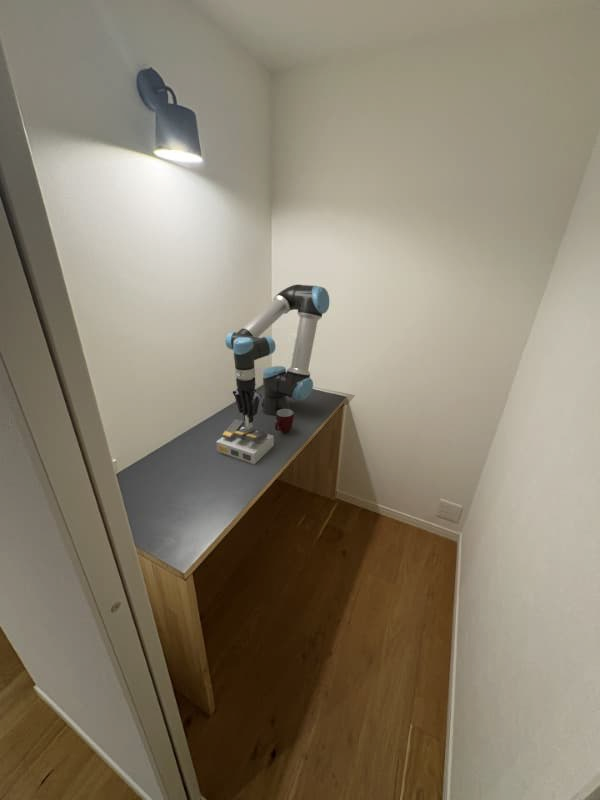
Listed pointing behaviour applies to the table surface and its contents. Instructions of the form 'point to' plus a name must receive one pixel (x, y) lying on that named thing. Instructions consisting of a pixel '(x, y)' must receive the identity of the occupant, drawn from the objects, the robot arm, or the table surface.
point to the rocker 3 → (256, 436)
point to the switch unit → (245, 448)
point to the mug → (284, 420)
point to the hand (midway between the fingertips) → (249, 428)
